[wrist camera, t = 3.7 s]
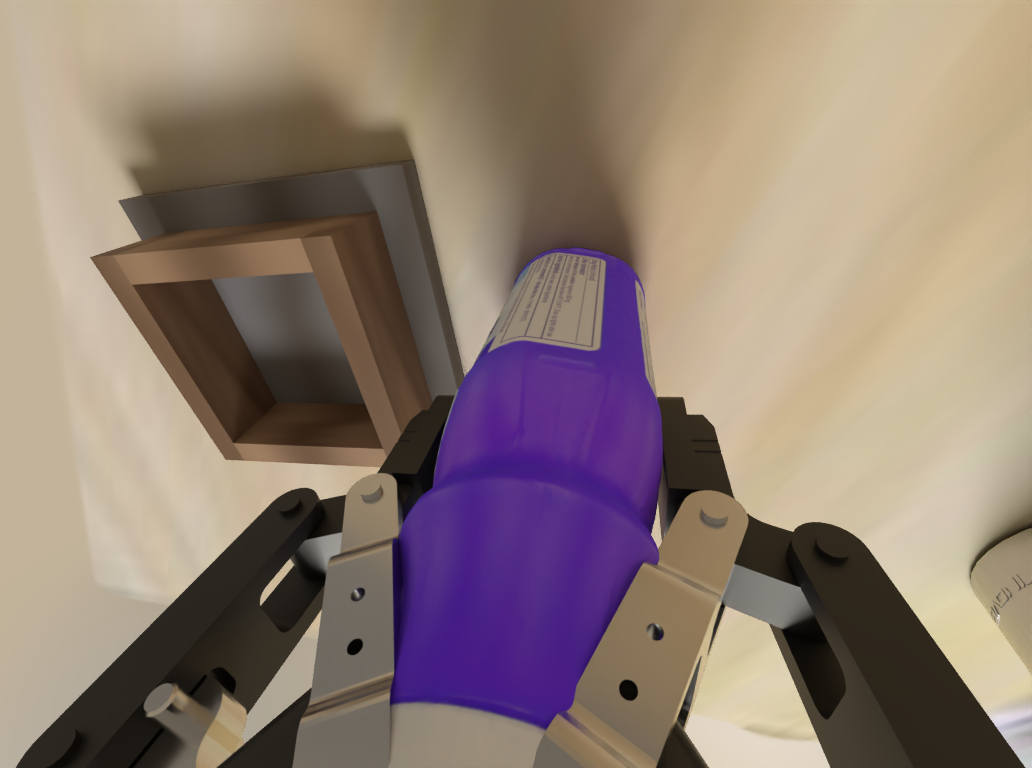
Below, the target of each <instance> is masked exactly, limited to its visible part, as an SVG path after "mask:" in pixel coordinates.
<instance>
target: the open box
mask: <svg viewBox="0 0 1032 768" xmlns="http://www.w3.org/2000/svg"><path fill="white" fill-rule="evenodd" d="M119 203H120V204H121V206H122V208H123V209H124V211H125V213H126V215H127V216H128V218H129V220H130V221H131V223H132V225H133V226H134V228H135V230H136V231H137V233H138V235H139V237H140V238H141V240H142V241H139V242H136V243H133V244H130V245H127V246H124V247H121V248H118V249H114V250H111V251H108V252H105V253H102V254H99V255H96V256H93V257H90V258H91V259H92V261H93V262H94V264H95V265H96V267H97V268H98V270H99V271H100V273H101V274H102V276H103V277H104V279H105V280H106V282H107V283H108V285H109V286H110V288H111V289H112V291H113V292H114V294H115V295H116V297H117V298H118V300H119V301H120V303H121V304H122V306H123V307H124V309H125V310H126V312H127V313H128V315H129V316H130V318H131V319H132V321H133V322H134V324H135V325H136V327H137V328H138V329H139V331H140V332H141V334H142V335H143V337H144V338H145V340H146V341H147V343H148V344H149V346H150V347H151V349H152V350H153V352H154V353H155V355H156V356H157V358H158V359H159V361H160V362H161V364H162V365H163V367H164V368H165V370H166V371H167V373H168V374H169V376H170V377H171V379H172V380H173V382H174V383H175V385H176V386H177V388H178V389H179V391H180V392H181V394H182V395H183V397H184V398H185V400H186V401H187V403H188V404H189V406H190V407H191V409H192V410H193V412H194V413H195V415H196V416H197V418H198V419H199V420H200V422H201V423H202V425H203V426H204V428H205V429H206V431H207V432H208V434H209V435H210V437H211V438H212V440H213V441H214V443H215V444H216V446H217V447H218V449H219V450H220V452H221V453H222V455H223V456H224V458H225V459H226V460H244V461H264V462H285V463H305V464H325V465H346V466H366V467H381V466H382V465H383V463H384V462H385V460H386V458H387V457H388V455H389V454H390V452H391V450H392V449H393V447H394V446H395V444H396V442H398V439H399V437H400V436H401V434H402V433H404V429H405V428H406V426H407V425H408V423H409V421H410V420H411V419H412V418H413V417H415V416H416V415H417V414H418V413H419V412H421V411H422V410H429V408H430V406H431V405H432V403H433V401H434V399H435V398H436V396H438V395H455V394H456V392H457V390H458V389H459V387H460V386H461V384H462V382H463V380H464V374H463V370H462V366H461V361H460V357H459V353H458V348H457V344H456V340H455V335H454V331H453V327H452V322H451V318H450V314H449V309H448V305H447V301H446V296H445V292H444V288H443V283H442V279H441V275H440V270H439V266H438V262H437V257H436V253H435V249H434V244H433V240H432V236H431V231H430V227H429V223H428V218H427V214H426V210H425V205H424V201H423V197H422V192H421V188H420V184H419V179H418V175H417V171H416V166H415V162H414V160H409V161H401V162H394V163H386V164H378V165H371V166H363V167H355V168H348V169H340V170H332V171H324V172H317V173H309V174H301V175H294V176H286V177H278V178H271V179H263V180H255V181H248V182H240V183H232V184H225V185H217V186H209V187H202V188H194V189H186V190H179V191H171V192H163V193H156V194H148V195H141V196H137V197H132V198H128V199H124V200H119Z"/></svg>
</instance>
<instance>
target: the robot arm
mask: <svg viewBox="0 0 1032 768" xmlns="http://www.w3.org/2000/svg"><path fill="white" fill-rule="evenodd" d="M454 397H455V395H438V396H436V398H435V399H434V401H433V403H432V405H431V406H430V408H429V410H422V411H421V412H419V413H418V414H417V415H416V416H415V417H413V418H412V419H411V420H410V421H409V423H408V425H407V426H406V428H405V429H404V433H402V434H401V436H400V437H399V439H398V442H396V444H395V446H394V447H393V449H392V450H391V452H390V454H389V455H388V457H387V458H386V460H385V462H384V463H383V465H382V466H381V468H380V470H379V471H378V473H376V474H372V475H369V476H366V477H364V478H362V479H360V480H359V481H358V482H356V483H355V484H354V485H353V486H352V487H351V488H350V490H349V491H348V493H347V495H343V496H338V497H333V498H328V499H323V500H320V499H319V497H318V495H317V494H316V492H315V491H314V490H312V489H309V488H299V489H295V490H291V491H289V492H287V493H285V494H283V495H281V496H280V497H278V498H277V499H276V500H275V501H273V502H272V503H271V504H270V505H269V506H268V507H267V508H266V509H265V510H264V511H263V512H262V513H261V514H260V515H259V516H258V517H257V518H256V519H255V520H254V521H253V522H252V523H251V524H250V525H249V526H248V527H247V528H246V529H245V530H244V531H243V533H242V534H241V535H240V536H239V537H238V538H237V539H236V540H235V541H234V542H233V543H232V544H231V545H230V546H229V547H228V548H227V549H226V550H225V551H224V552H223V553H222V554H221V555H220V556H219V557H218V558H217V559H216V560H215V561H214V562H213V563H212V564H211V565H210V566H209V567H208V568H207V569H206V570H205V571H204V572H203V573H202V574H201V575H200V576H199V577H198V578H197V579H196V580H195V581H194V582H193V583H192V584H191V585H190V586H189V587H188V588H187V589H186V590H185V591H184V592H183V593H182V594H181V595H180V596H179V597H178V598H177V599H176V600H175V601H174V602H173V603H172V604H171V605H170V606H169V607H168V608H167V609H166V610H165V611H164V612H163V613H162V614H161V615H160V616H159V617H158V618H157V619H156V620H155V621H154V622H153V623H152V624H151V625H150V626H149V627H148V628H147V629H146V630H145V631H144V632H143V633H142V634H141V635H140V636H139V637H138V638H137V639H136V640H135V641H134V642H133V643H132V644H131V645H130V646H129V647H128V648H127V649H126V650H125V651H124V652H123V653H122V654H121V655H120V656H119V657H118V658H117V659H116V660H115V662H113V663H112V665H110V666H109V668H107V669H106V670H105V672H103V674H102V675H101V676H100V677H99V678H98V679H97V680H96V681H95V682H94V683H93V684H92V685H91V686H90V687H89V688H88V689H87V690H86V691H85V692H84V693H83V694H82V695H81V696H80V697H79V698H78V699H77V700H76V701H75V702H74V703H73V704H72V705H71V706H70V707H69V708H68V709H67V710H66V711H65V712H64V713H63V714H62V715H61V716H60V717H59V718H58V719H57V720H56V721H55V722H54V723H53V724H52V725H51V726H50V727H49V728H48V729H47V730H46V731H45V732H44V733H43V734H42V735H41V736H40V737H39V738H38V739H37V740H36V741H35V742H34V743H33V744H32V746H31V747H30V748H29V749H28V751H27V752H26V753H25V755H24V756H23V758H22V759H21V760H20V762H19V763H18V765H17V767H16V768H388V766H389V763H390V754H391V731H392V706H393V692H394V680H395V669H396V660H397V651H398V642H399V632H400V621H401V589H402V587H403V578H402V564H401V553H400V545H399V536H400V532H401V528H402V525H403V523H404V521H405V519H406V517H407V515H408V513H409V512H410V510H411V509H412V507H413V506H414V505H415V504H416V502H417V501H418V500H419V499H420V497H421V496H422V495H424V494H425V493H426V492H428V491H429V490H430V489H432V488H433V479H434V471H435V466H436V461H437V456H438V451H439V447H440V443H441V439H442V435H443V431H444V428H445V424H446V421H447V418H448V415H449V412H450V409H451V406H452V403H453V400H454ZM657 401H658V404H659V407H660V412H661V418H662V437H663V466H662V476H661V482H660V488H659V495H658V505H659V516H660V526H661V537H662V543H661V545H660V547H659V549H658V552H659V561H658V562H657V563H655V564H653V563H651V562H649V561H645V562H644V563H643V565H642V566H641V567H640V569H639V571H638V573H637V574H636V576H635V578H634V580H633V582H632V584H631V586H630V587H629V589H628V591H627V593H626V595H625V597H624V599H623V600H622V602H621V604H620V606H619V608H618V610H617V611H616V613H615V615H614V617H613V619H612V621H611V623H610V624H609V626H608V628H607V630H606V632H605V634H604V636H603V637H602V639H601V641H600V643H599V645H598V647H597V648H596V650H595V652H594V654H593V656H592V658H591V660H590V661H589V663H588V665H587V667H586V669H585V671H584V673H583V674H582V676H581V678H580V680H579V682H578V684H577V686H576V692H575V697H574V702H573V705H572V706H571V708H570V709H569V710H567V711H560V712H559V713H558V714H557V715H556V716H555V718H554V719H553V721H552V722H551V723H550V725H549V727H548V728H547V730H546V732H545V733H544V735H543V737H542V739H541V741H540V743H539V746H538V748H537V751H536V755H535V760H534V763H533V767H532V768H709V767H708V766H707V764H706V763H705V761H704V760H703V758H702V757H701V755H700V754H699V752H698V751H697V749H696V748H695V746H694V744H693V743H692V741H691V740H690V739H689V737H688V735H687V734H686V732H685V728H686V725H687V723H688V720H689V717H690V714H691V711H692V708H693V705H694V702H695V699H696V696H697V693H698V690H699V687H700V684H701V681H702V677H703V674H704V670H705V667H706V664H707V661H708V658H709V656H710V653H711V650H712V647H713V644H714V641H715V639H716V636H717V633H718V630H719V627H720V624H721V621H722V619H723V616H724V613H725V610H726V607H730V608H732V609H735V610H737V611H740V612H742V613H745V614H747V615H749V616H752V617H754V618H757V619H759V620H762V621H764V622H767V623H769V625H770V627H771V629H772V632H773V634H774V636H775V639H776V641H777V643H778V646H779V648H780V650H781V653H782V655H783V657H784V660H785V662H786V664H787V667H788V669H789V671H790V674H791V676H792V679H793V681H794V683H795V686H796V688H797V690H798V693H799V695H800V697H801V700H802V702H803V704H804V707H805V709H806V711H807V714H808V716H809V718H810V721H811V723H812V725H813V728H814V730H815V732H816V735H817V737H818V739H819V742H820V744H821V746H822V749H823V751H824V753H825V756H826V758H827V761H828V763H829V765H830V768H1025V767H1024V765H1023V764H1022V762H1021V761H1020V760H1019V758H1018V757H1017V755H1016V754H1015V753H1014V751H1013V750H1012V749H1011V747H1010V746H1009V744H1008V743H1007V742H1006V740H1005V739H1004V737H1003V736H1002V735H1001V733H1000V732H999V730H998V729H997V728H996V726H995V725H994V723H993V722H992V721H991V719H990V718H989V716H988V715H987V714H986V712H985V711H984V709H983V708H982V707H981V705H980V704H979V702H978V701H977V700H976V698H975V697H974V696H973V694H972V693H971V691H970V690H969V689H968V687H967V686H966V684H965V683H964V682H963V680H962V679H961V677H960V676H959V675H958V673H957V672H956V670H955V669H954V668H953V666H952V665H951V663H950V662H949V661H948V659H947V658H946V656H945V655H944V654H943V652H942V651H941V649H940V648H939V647H938V645H937V644H936V642H935V641H934V640H933V638H932V637H931V636H930V634H929V633H928V631H927V630H926V629H925V627H924V626H923V624H922V623H921V622H920V620H919V619H918V617H917V616H916V615H915V613H914V612H913V610H912V609H911V608H910V606H909V605H908V603H907V602H906V601H905V599H904V598H903V596H902V595H901V594H900V592H899V591H898V589H897V588H896V587H895V585H894V584H893V583H892V581H891V580H890V578H889V577H888V576H887V574H886V573H885V571H884V570H883V569H882V567H881V566H880V564H879V563H878V562H877V560H876V559H875V557H874V556H873V555H872V553H871V552H870V550H869V549H868V548H867V547H866V545H865V544H864V543H863V542H862V541H861V540H860V539H858V538H857V537H856V536H854V535H853V534H851V533H850V532H848V531H846V530H844V529H842V528H840V527H837V526H834V525H831V524H827V523H821V522H811V523H805V524H802V525H800V526H798V527H797V528H796V529H795V530H794V532H791V531H788V530H785V529H781V528H778V527H775V526H772V525H769V524H766V523H763V522H761V521H759V520H757V519H755V518H753V517H752V516H750V515H749V514H747V513H746V511H745V509H744V508H743V506H742V505H741V504H740V503H739V502H738V501H736V500H735V498H734V496H733V493H732V489H731V486H730V482H729V478H728V475H727V471H726V468H725V464H724V460H723V457H722V454H721V450H720V446H719V443H718V439H717V435H716V432H715V428H714V426H713V425H712V424H711V423H710V422H709V421H708V420H707V419H706V418H705V417H704V416H703V415H687V413H686V408H685V403H684V399H683V397H657ZM289 559H291V561H292V562H293V564H294V566H293V567H292V569H291V570H290V571H289V572H288V573H287V575H286V576H285V577H284V578H283V580H282V581H281V582H280V583H279V584H278V586H277V587H276V588H275V589H274V591H273V592H272V593H271V594H270V595H269V597H268V598H267V599H266V600H265V601H264V603H263V604H262V605H261V606H260V598H261V594H262V592H263V590H264V589H265V587H266V586H267V585H268V584H269V582H270V581H271V580H272V579H273V578H274V577H275V575H276V574H277V573H278V572H279V571H280V569H281V568H282V567H283V566H284V565H285V563H286V562H287V561H288V560H289ZM971 586H972V588H973V591H974V593H975V595H976V596H977V597H978V599H979V600H980V602H981V603H982V605H983V606H984V607H985V609H986V610H987V612H988V613H989V615H990V616H991V617H992V619H993V620H994V622H995V623H996V625H997V626H998V627H999V629H1000V630H1001V632H1002V633H1003V635H1004V636H1005V637H1006V639H1007V640H1008V642H1009V643H1010V645H1011V646H1012V647H1013V649H1014V650H1015V652H1016V653H1017V655H1018V656H1019V657H1020V659H1021V660H1022V662H1023V663H1024V665H1025V666H1026V668H1027V669H1028V671H1029V672H1030V674H1031V675H1032V528H1030V529H1027V530H1024V531H1022V532H1020V533H1018V534H1016V535H1014V536H1012V537H1010V538H1007V539H1005V540H1003V541H1002V542H1001V543H999V544H998V545H996V546H995V547H993V548H992V549H990V550H989V551H988V552H987V553H986V554H985V555H984V556H983V557H982V558H981V559H980V560H979V561H978V562H977V563H976V565H975V567H974V569H973V571H972V573H971ZM321 609H322V612H321V620H320V628H319V636H318V643H317V652H316V660H315V667H314V674H313V682H312V688H310V689H309V690H308V691H307V692H306V693H304V694H303V695H302V696H301V697H300V698H299V699H298V700H296V701H295V702H294V703H293V704H292V705H290V706H289V707H288V708H287V709H285V710H284V711H283V712H282V713H281V714H279V715H278V716H277V717H276V718H275V719H274V720H272V721H271V722H270V723H269V724H268V725H267V726H265V727H264V728H263V729H262V730H261V731H259V732H258V733H257V734H256V735H255V736H253V737H252V738H251V739H250V740H249V741H248V742H246V743H245V744H244V740H243V738H242V734H243V732H244V729H245V725H246V719H247V718H246V717H247V714H248V713H249V712H250V710H251V709H252V707H253V706H254V705H255V703H256V702H257V700H258V699H259V697H260V696H261V695H262V693H263V692H264V690H265V689H266V687H267V686H268V684H269V683H270V682H271V680H272V679H273V678H274V676H275V674H276V673H277V672H278V670H279V669H280V667H281V666H282V665H283V663H284V662H285V660H286V659H287V658H288V656H289V655H290V653H291V652H292V651H293V649H294V648H295V646H296V645H297V643H298V642H299V641H300V639H301V638H302V636H303V635H304V633H305V632H306V631H307V629H308V628H309V626H310V625H311V624H312V622H313V621H314V619H315V618H316V616H317V615H318V614H319V612H320V611H321Z"/></svg>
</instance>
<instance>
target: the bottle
mask: <svg viewBox="0 0 1032 768" xmlns="http://www.w3.org/2000/svg"><path fill="white" fill-rule="evenodd" d="M662 466H663V437H662V418H661V412H660V407H659V404H658V401H657V395H656V387H655V380H654V373H653V366H652V359H651V351H650V343H649V334H648V326H647V318H646V307H645V294H644V291H643V287H642V284H641V282H640V279H639V278H638V276H637V274H636V273H635V272H634V270H633V269H632V268H631V267H630V266H629V265H628V264H627V263H625V262H624V261H622V260H621V259H618V258H616V257H614V256H611V255H608V254H604V253H603V252H601V251H596V250H589V249H584V248H575V247H573V248H569V249H567V248H558V249H553V250H549V251H546V252H543V253H541V254H539V255H538V256H536V257H534V258H533V259H532V260H531V261H530V262H528V263H527V265H526V266H525V267H524V268H523V270H522V271H521V272H520V274H519V276H518V278H517V280H516V281H515V284H514V287H513V289H512V291H511V293H510V295H509V297H508V299H507V301H506V303H505V305H504V307H503V309H502V311H501V313H500V315H499V317H498V319H497V321H496V323H495V325H494V327H493V328H492V330H491V332H490V334H489V336H488V338H487V340H486V342H485V344H484V346H483V348H482V350H481V352H480V354H479V355H478V357H477V359H476V361H475V363H474V365H473V367H472V369H471V370H470V371H469V372H468V374H467V375H466V376H465V378H464V380H463V382H462V384H461V386H460V387H459V389H458V390H457V392H456V394H455V397H454V400H453V403H452V406H451V409H450V412H449V415H448V418H447V421H446V424H445V428H444V431H443V435H442V439H441V443H440V447H439V451H438V456H437V461H436V466H435V471H434V479H433V488H432V489H430V490H429V491H428V492H426V493H425V494H424V495H422V496H421V497H420V499H419V500H418V501H417V502H416V504H415V505H414V506H413V507H412V509H411V510H410V512H409V513H408V515H407V517H406V519H405V521H404V523H403V525H402V528H401V532H400V536H399V545H400V553H401V564H402V578H403V587H402V589H401V621H400V632H399V642H398V651H397V660H396V669H395V680H394V692H393V706H392V731H391V754H390V763H389V766H388V768H532V767H533V763H534V760H535V755H536V751H537V748H538V746H539V743H540V741H541V739H542V737H543V735H544V733H545V732H546V730H547V728H548V727H549V725H550V723H551V722H552V721H553V719H554V718H555V716H556V715H557V714H558V713H559V712H560V711H567V710H569V709H570V708H571V706H572V705H573V702H574V697H575V692H576V686H577V684H578V682H579V680H580V678H581V676H582V674H583V673H584V671H585V669H586V667H587V665H588V663H589V661H590V660H591V658H592V656H593V654H594V652H595V650H596V648H597V647H598V645H599V643H600V641H601V639H602V637H603V636H604V634H605V632H606V630H607V628H608V626H609V624H610V623H611V621H612V619H613V617H614V615H615V613H616V611H617V610H618V608H619V606H620V604H621V602H622V600H623V599H624V597H625V595H626V593H627V591H628V589H629V587H630V586H631V584H632V582H633V580H634V578H635V576H636V574H637V573H638V571H639V569H640V567H641V566H642V565H643V563H644V562H645V561H649V562H651V563H653V564H655V563H657V562H658V561H659V552H658V548H657V546H656V543H655V541H654V540H653V538H652V536H651V533H652V528H653V524H654V520H655V515H656V509H657V503H658V495H659V488H660V482H661V476H662Z"/></svg>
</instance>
